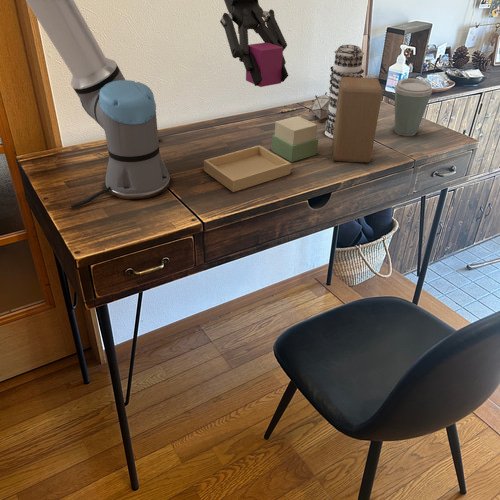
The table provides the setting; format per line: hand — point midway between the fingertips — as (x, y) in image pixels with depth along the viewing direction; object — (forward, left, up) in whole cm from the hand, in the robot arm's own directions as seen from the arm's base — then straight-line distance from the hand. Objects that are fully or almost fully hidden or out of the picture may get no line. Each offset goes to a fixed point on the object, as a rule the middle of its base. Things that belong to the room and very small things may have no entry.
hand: (271, 80), depth 112 cm
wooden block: (+25, -4, -23) cm, 35 cm away
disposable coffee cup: (+51, -1, -23) cm, 56 cm away
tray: (-5, +3, -23) cm, 24 cm away
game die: (+37, +21, -23) cm, 49 cm away
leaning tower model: (+33, +9, -23) cm, 42 cm away
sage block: (+13, +6, -23) cm, 27 cm away
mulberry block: (0, +4, -1) cm, 4 cm away
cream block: (+13, +6, -19) cm, 24 cm away
